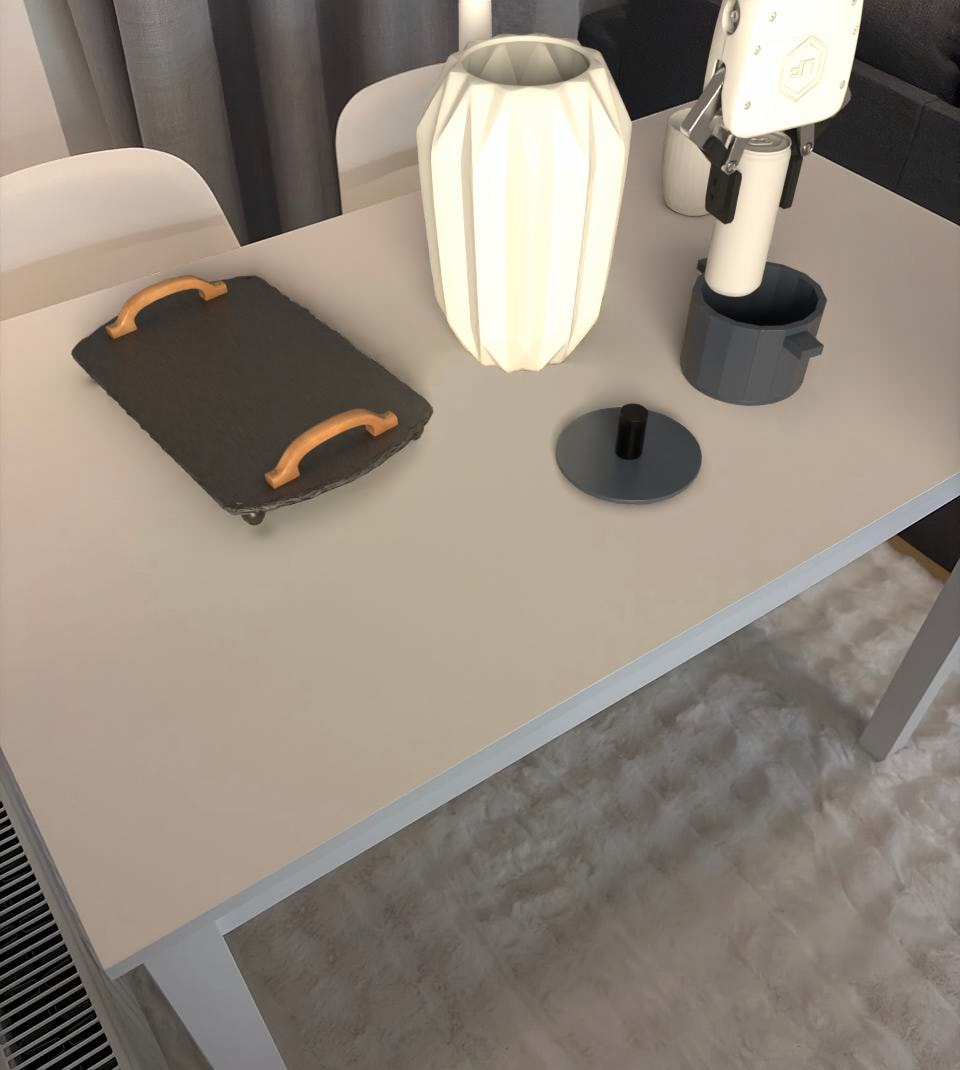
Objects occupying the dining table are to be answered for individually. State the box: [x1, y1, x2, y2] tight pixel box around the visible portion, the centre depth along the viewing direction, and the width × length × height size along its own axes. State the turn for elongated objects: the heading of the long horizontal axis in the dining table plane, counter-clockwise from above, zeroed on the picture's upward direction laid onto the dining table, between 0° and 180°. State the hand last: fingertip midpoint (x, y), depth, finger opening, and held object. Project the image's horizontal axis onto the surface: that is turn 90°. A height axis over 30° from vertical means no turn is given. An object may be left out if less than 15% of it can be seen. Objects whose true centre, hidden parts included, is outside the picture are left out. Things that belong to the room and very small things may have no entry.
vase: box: [416, 32, 633, 374], centre depth 91 cm, size 20×20×28 cm
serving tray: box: [70, 274, 434, 526], centre depth 94 cm, size 39×23×6 cm, turn 40°
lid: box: [555, 402, 703, 505], centre depth 87 cm, size 14×14×6 cm
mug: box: [661, 107, 732, 217], centre depth 116 cm, size 13×9×10 cm
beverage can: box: [705, 131, 792, 297], centre depth 77 cm, size 5×5×12 cm
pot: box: [679, 257, 828, 406], centre depth 95 cm, size 13×18×8 cm
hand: (747, 206), depth 77 cm, fingers closed on beverage can, 4 cm apart
